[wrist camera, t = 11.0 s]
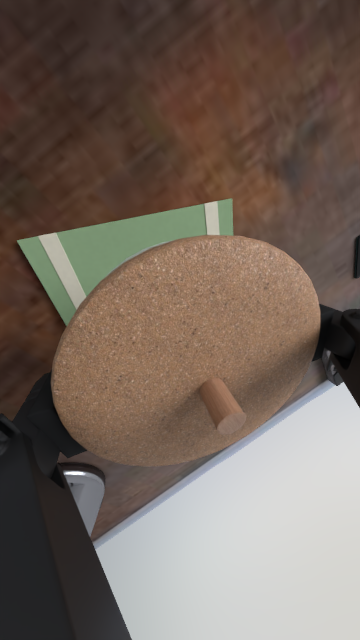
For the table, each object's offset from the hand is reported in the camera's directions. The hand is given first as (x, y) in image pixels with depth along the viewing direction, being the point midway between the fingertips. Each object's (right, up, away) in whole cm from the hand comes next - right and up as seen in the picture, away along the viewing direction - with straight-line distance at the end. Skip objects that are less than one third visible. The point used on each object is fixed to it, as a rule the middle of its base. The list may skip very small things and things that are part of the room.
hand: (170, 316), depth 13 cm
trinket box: (0, 0, +1) cm, 1 cm away
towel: (-2, +3, +7) cm, 8 cm away
